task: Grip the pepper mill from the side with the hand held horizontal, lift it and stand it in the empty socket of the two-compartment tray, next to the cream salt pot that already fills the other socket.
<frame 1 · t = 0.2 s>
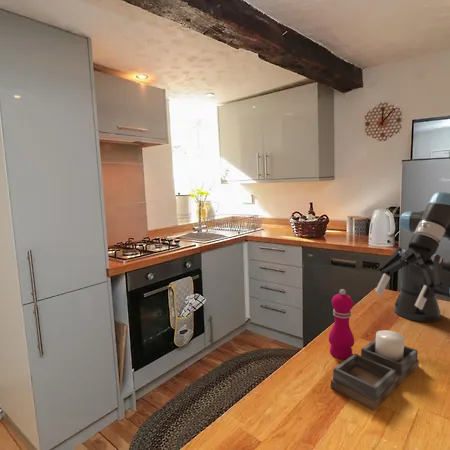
hand: (396, 300, 100), 15 cm above the countertop, tool tilted 35°, fingers open, 13 cm apart
pepper mill: (340, 354, 99), on the countertop
two-compartment tray: (376, 376, 87), on the countertop
salt pot: (388, 359, 91), point 2 cm above the countertop, touching two-compartment tray
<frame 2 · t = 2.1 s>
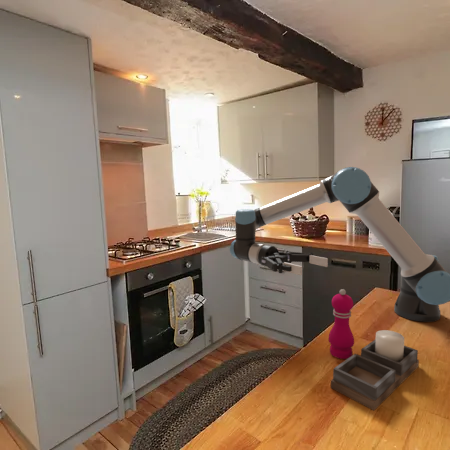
hand: (314, 266, 103), 25 cm above the countertop, tool horizontal, fingers open, 13 cm apart
nothing on the countertop moved.
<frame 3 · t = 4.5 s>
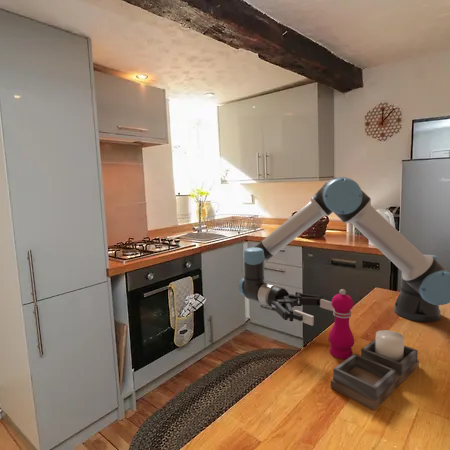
hand: (326, 314, 101), 11 cm above the countertop, tool horizontal, fingers open, 13 cm apart
nothing on the countertop moved.
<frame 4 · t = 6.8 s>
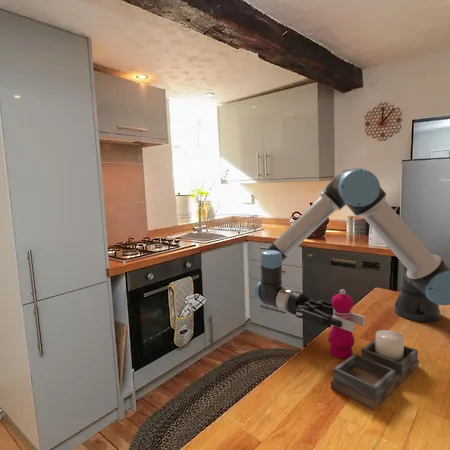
hand: (358, 324, 93), 11 cm above the countertop, tool horizontal, fingers closed on pepper mill, 5 cm apart
pepper mill: (340, 354, 99), on the countertop, touching gripper
everything else where it was.
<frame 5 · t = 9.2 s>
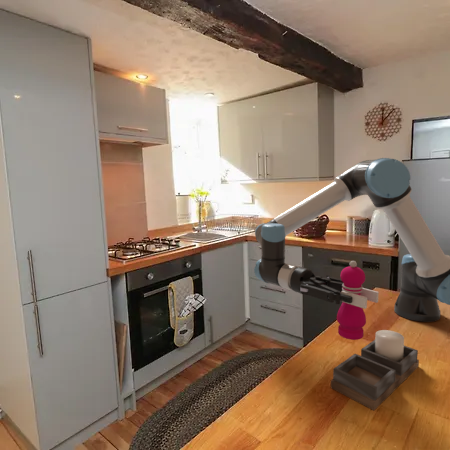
hand: (371, 300, 82), 22 cm above the countertop, tool horizontal, fingers closed on pepper mill, 5 cm apart
pepper mill: (350, 335, 87), point 11 cm above the countertop, touching gripper
everything else where it was.
when the fingers open (14 cm above the countertop, at t = 11.8 s): pepper mill drops 1 cm, resting on two-compartment tray.
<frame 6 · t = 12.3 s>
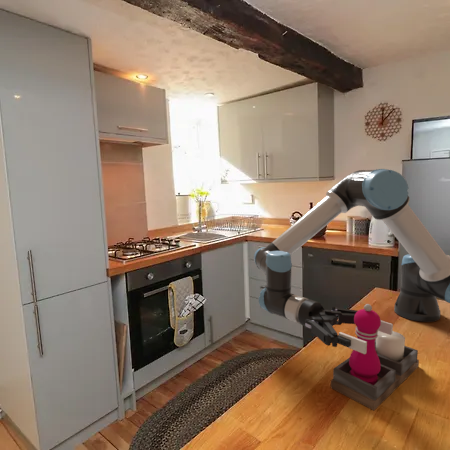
hand: (379, 338, 78), 14 cm above the countertop, tool horizontal, fingers open, 13 cm apart
pepper mill: (363, 380, 83), point 2 cm above the countertop, touching two-compartment tray
everything else where it was.
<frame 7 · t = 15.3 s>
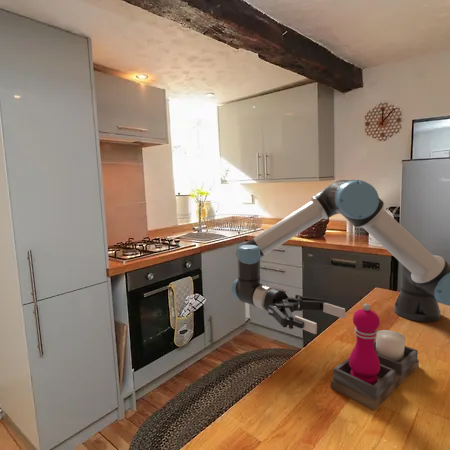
hand: (331, 320, 88), 15 cm above the countertop, tool horizontal, fingers open, 13 cm apart
nothing on the countertop moved.
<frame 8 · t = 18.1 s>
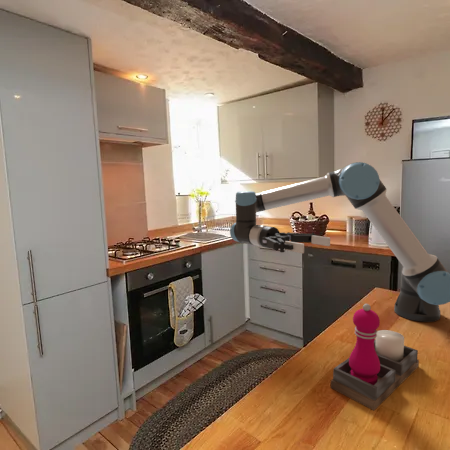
hand: (317, 245, 100), 32 cm above the countertop, tool horizontal, fingers open, 13 cm apart
nothing on the countertop moved.
at the end: pepper mill 0.1 cm from the target spot on the two-compartment tray, point 1.8 cm above the two-compartment tray's base; pepper mill tilted 0°; the gripper is holding nothing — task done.
